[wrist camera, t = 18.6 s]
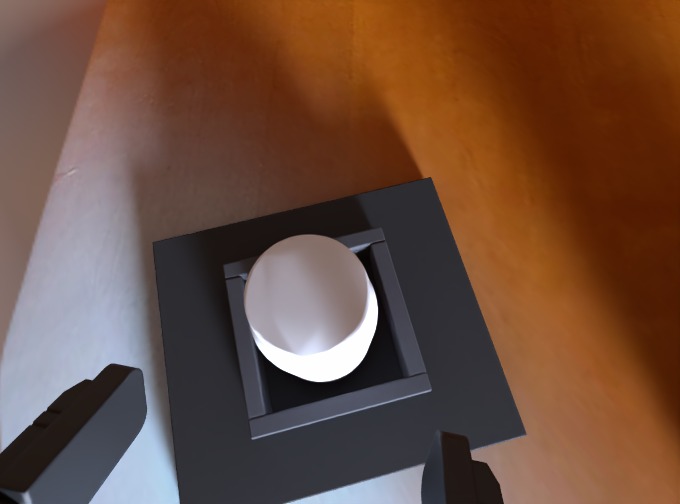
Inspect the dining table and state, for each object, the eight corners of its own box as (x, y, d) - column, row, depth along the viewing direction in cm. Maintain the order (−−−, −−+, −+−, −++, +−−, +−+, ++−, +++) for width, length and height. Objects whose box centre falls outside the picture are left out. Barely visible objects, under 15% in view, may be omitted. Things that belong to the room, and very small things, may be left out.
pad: (190, 526, 19) (162, 549, 16) (159, 248, 23) (134, 227, 21) (519, 433, 20) (547, 439, 17) (428, 185, 24) (438, 157, 22)
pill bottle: (389, 328, 21) (415, 285, 13) (326, 404, 19) (312, 410, 12) (318, 269, 22) (302, 196, 14) (255, 338, 21) (197, 302, 13)
